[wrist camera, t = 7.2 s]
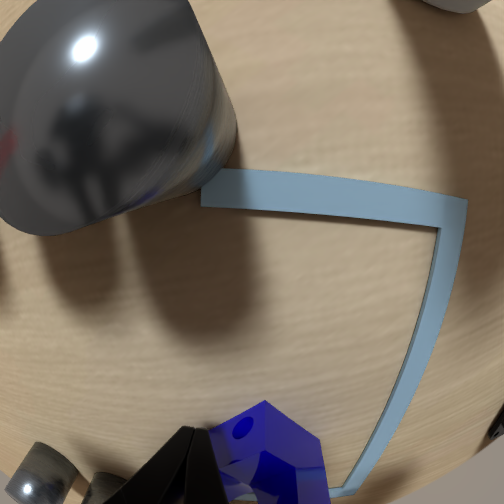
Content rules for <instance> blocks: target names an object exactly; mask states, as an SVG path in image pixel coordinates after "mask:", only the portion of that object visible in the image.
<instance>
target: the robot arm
mask: <svg viewBox="0 0 504 504" xmlns="http://www.w3.org/2000/svg"><path fill="white" fill-rule="evenodd" d="M503 434H504V411H503V413H502V415H501V416H500V418H499V419H498V421H497V422H496V424H495V425H494V427H493V428H492V429H491V431H490V432H489V434H488V437H489V438H490V440H493V439H495V438H497V437H499V436H501V435H503ZM102 504H229V502H228V498H227V495H226V492H225V489H224V485H223V482H222V479H221V475H220V472H219V468H218V465H217V461H216V458H215V454H214V450H213V446H212V443H211V439H210V435H209V431H208V429H205V428H196V429H195V428H194V427H190V426H182V427H181V428H180V429H179V430H178V431H177V432H176V433H175V434H174V435H173V436H172V437H171V438H170V439H169V440H168V441H167V442H166V443H165V444H164V446H163V447H162V448H161V449H160V450H159V451H158V452H157V453H156V454H155V455H154V456H153V457H152V458H151V459H150V460H149V461H148V462H147V463H146V464H145V465H144V466H142V467H141V468H140V469H139V470H138V471H137V472H136V473H135V474H134V475H133V476H132V477H131V478H130V479H129V480H128V481H127V482H126V483H125V484H124V485H123V486H122V487H121V489H118V490H117V491H116V492H115V493H114V494H113V495H112V496H110V497H109V498H108V499H107V500H106V501H104V502H103V503H102Z"/></svg>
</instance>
